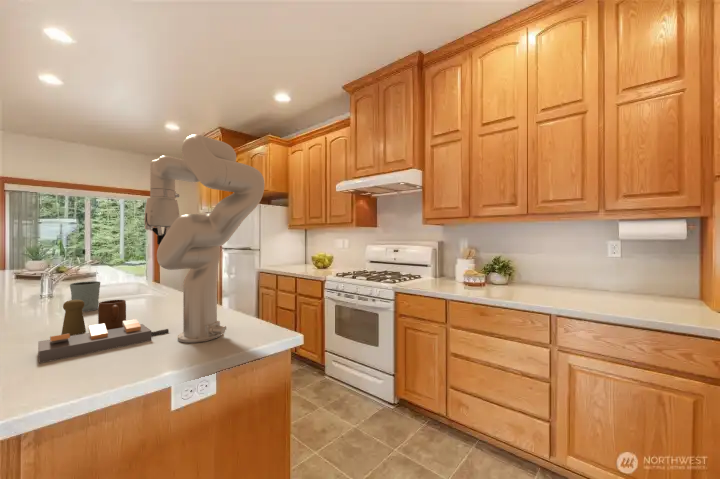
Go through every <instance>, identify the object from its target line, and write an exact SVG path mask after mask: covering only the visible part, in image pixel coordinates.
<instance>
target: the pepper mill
mask: <svg viewBox="0 0 720 479" xmlns="http://www.w3.org/2000/svg"><path fill="white" fill-rule="evenodd" d="M62 307H63V310H64V311H65V313H64V316H63V317H64V318H63V323H62V329H61V334H60V335H63V334H70V336H74V335H80V334H86V332H87V329H86V323H85V319H84V318H85V317H84V314H83V313H84V312H83V311H82V309H83V307H84V302H83V301H82V300H72V299H70V300H67V301H65V302H63V305H62Z"/></svg>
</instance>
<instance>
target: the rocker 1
mask: <svg viewBox="0 0 720 479" xmlns="http://www.w3.org/2000/svg"><path fill="white" fill-rule="evenodd" d="M68 338H70V334H63V335H61V334H57V335H52V336H51V335H50V336H49V340H50V341H52V343H56V342H62V341H68Z"/></svg>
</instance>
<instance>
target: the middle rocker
mask: <svg viewBox="0 0 720 479" xmlns="http://www.w3.org/2000/svg"><path fill="white" fill-rule="evenodd" d="M88 333H90V337H91V339H97V338H102V337H108V332H107V329H106V326H105V323H103V324H98V323H97V324H91V325H88Z"/></svg>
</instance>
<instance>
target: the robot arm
mask: <svg viewBox="0 0 720 479" xmlns="http://www.w3.org/2000/svg"><path fill="white" fill-rule="evenodd" d="M180 150H181V151H180V152H181V155H182V158H181V157H175V156H171V155H161V156H159V157H158V158H157V159H153V160H152V161H151V162H150V171H149V172H150V174H149V175H150V176H149V177H150V178H149V179H150V182H149V183H150V186H149V187H150V190H149V195H150V197H148V198H147V199H146V203H145V208H144V209H145V210H144V225H145V226H144V229H145V230H147V231H150V232H152V233H154V234H155V235H156V238H157V239H156V243H157V245H158V247H157V250H156V260H157V263H158V265H159V266H160V267H162V268H163V269H165V270H169V271H170V270H171V271H172V270H175V271H176V270H187V269H188V273H187V274H186V276H185V278H184V281H183V285H182V286H183V293H182V294H183V301H182V303H183V305H182V307H183V310H182V311H183V312H182V314H183V318H182V319H183V321H182V322H183V324H182V325H183V326H182V327H183V329H182V331H183V332H180V333H179V334H178V335H177V341H178V342H180V343H186V344H188V343H189V344H194V343H203V342H208V341H211V340H215V339H217V338H219V337H221V336H222V335H223V334H225V332H226V330H227V326H226V325H221V322H220V321H219V320H218V298H217V297H218V268H219V264H220V263H219V262H220V258H221V246H223V245H225V244H226V243H227V242H228V241H229V240H230V239H231V238H232V237H233V235H234V233H235V232H236V231H237V230H238V228H239V227H240V226H241V224H242V223H243V221H244V220H245V219H246V218H247V217H248V216H249V215H250V214H251V213H252V212H253V211H254V210H255V209H256V207H258V206H259V204H260V202H261V200H262V198H263V195H264V191H265V178H264V176H263V174H262V173H261V171H260V170H259V169H257V168H256V167H253V166H251V165H249V164H245V163H241V162H237V153H236V151H235V149H234V148H233V146H231V145H230V144H228V143H226V142H225V141H222V140H219V139H216V138H215V139H214V138H212V137H208V136H205V135H201V134H191V135H189V136H187V137H186V138H185V139H184V140H183V142H182V145H181V149H180ZM176 181H181V182H186V183H187V182H188V183H198V182H200V184H201V185H203V186H204V187H206V188H208V189H212V190H217V191H224V192H229V193H230V192H232V194H230V195H228V196H226V197H224V198H223V199H221V200H219V201H218V203H216V205H215V207H213V209H212V210H211V212H209V213H205V214H204V213H203V214H200V213H199V214H198V213H185V214H182V215H180V208H179V203H178V200H177V199H176V198H179V197H180V193H177V191H176ZM162 228H163V229H162ZM162 230H163V231H162Z"/></svg>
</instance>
